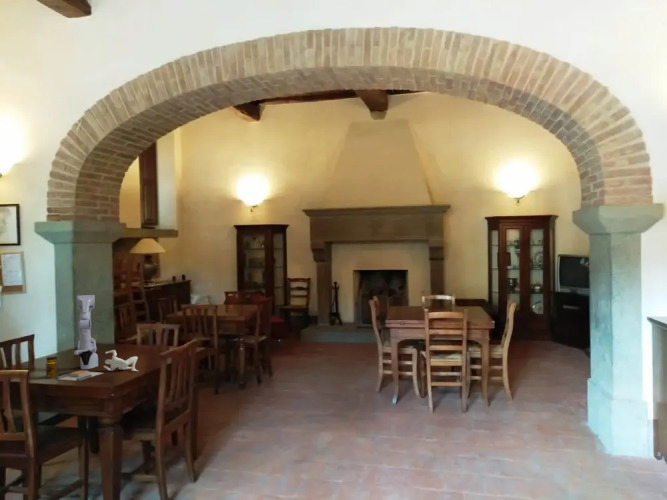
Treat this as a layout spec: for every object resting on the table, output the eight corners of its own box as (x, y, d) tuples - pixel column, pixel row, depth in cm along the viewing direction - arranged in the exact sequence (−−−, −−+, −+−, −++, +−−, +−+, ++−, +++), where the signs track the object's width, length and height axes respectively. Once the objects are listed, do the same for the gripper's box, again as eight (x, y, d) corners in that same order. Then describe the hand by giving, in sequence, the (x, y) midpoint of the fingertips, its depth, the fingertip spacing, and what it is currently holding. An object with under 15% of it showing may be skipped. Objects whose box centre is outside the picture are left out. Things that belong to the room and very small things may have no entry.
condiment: (43, 380, 287) (42, 358, 287) (49, 377, 295) (48, 355, 295) (57, 379, 288) (57, 357, 288) (63, 376, 296) (62, 354, 296)
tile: (80, 370, 297) (70, 373, 290) (88, 370, 295) (78, 373, 288) (80, 373, 297) (70, 376, 290) (88, 374, 295) (78, 377, 288)
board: (82, 372, 303) (82, 369, 303) (104, 374, 298) (104, 371, 298) (56, 380, 286) (55, 377, 286) (78, 382, 281) (78, 378, 281)
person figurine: (138, 349, 312) (106, 348, 303) (141, 357, 301) (108, 356, 292) (134, 370, 313) (101, 369, 304) (137, 379, 302) (104, 378, 293)
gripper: (80, 343, 289) (81, 368, 289) (100, 339, 302) (101, 362, 302) (70, 343, 291) (71, 367, 291) (90, 338, 305) (91, 362, 305)
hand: (85, 365), depth 297 cm, fingers closed
